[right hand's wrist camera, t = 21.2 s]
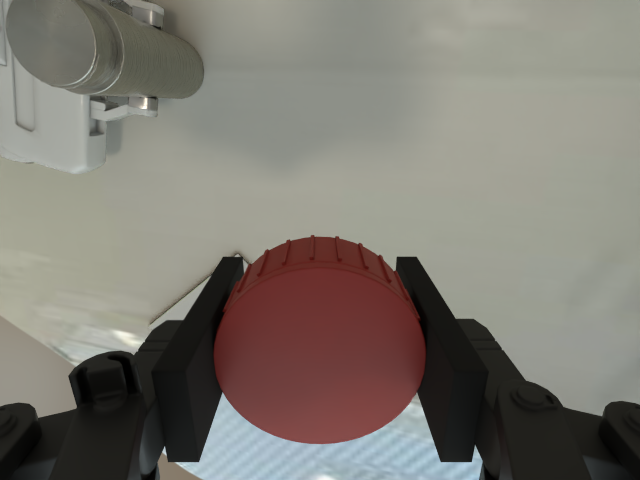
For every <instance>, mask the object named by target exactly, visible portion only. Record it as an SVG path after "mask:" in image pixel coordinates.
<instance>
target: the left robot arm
mask: <svg viewBox="0 0 640 480" xmlns="http://www.w3.org/2000/svg"><path fill="white" fill-rule="evenodd" d="M12 1H13V0H0V156H2V157H4V158H6V159H9V160H13V161H18V162H23V163H37V164H40V165H43V166H46V167H49V168H53V169H56V170H60V171H64V172H67V173H72V174H81V173H86V172H90V171H92V170H95V169H96V168H98V167H100V166H101V165H103V164H104V163H105V161H106V131H107V121H113V120H120V119H123V118H125V117H128V116H131V115H134V114H139V115H143V116H149V117H155V116H157V110H158V98H150V97H129V100H128V104H125V105H122V106H119V107H118V104H117V103H114V102H109V101H107V96H97V95H81V94H76V93H72V92H70V91H67V90H65V89H62V88H57V87H52V86H50V85H48V84H46V83H44V82H41V81H40V80H39V79H37V78H36V77H34V76H33V75H31V74H30V73H29V72H28V71H27V70H26V69H25V68H24V67H23V66H22V65H21V64H20V63H19V61H18V60H17V58H16V57H15V55H14V54H13V52H12V50H11V48H10V45H9V42H8V39H7V34H6V15H7V11H8V8H9V6H10V4H11V2H12ZM99 1H101V2H103V3H106V4H108V5H109V1H114V2H118V3H121V2H122V0H99ZM123 1H124V2H126V3H127V4H128V5H129V6H130V7H131V8H132V16H133V17H135V18H137V19H139V20H142V21H144V22H146V23H148V24H150V25H152V26H154V27H156V28H159V29H163V18H164V8H162V7H160V6H159V5H156V4H153V3H150V2H146V1H142V0H123Z"/></svg>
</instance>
